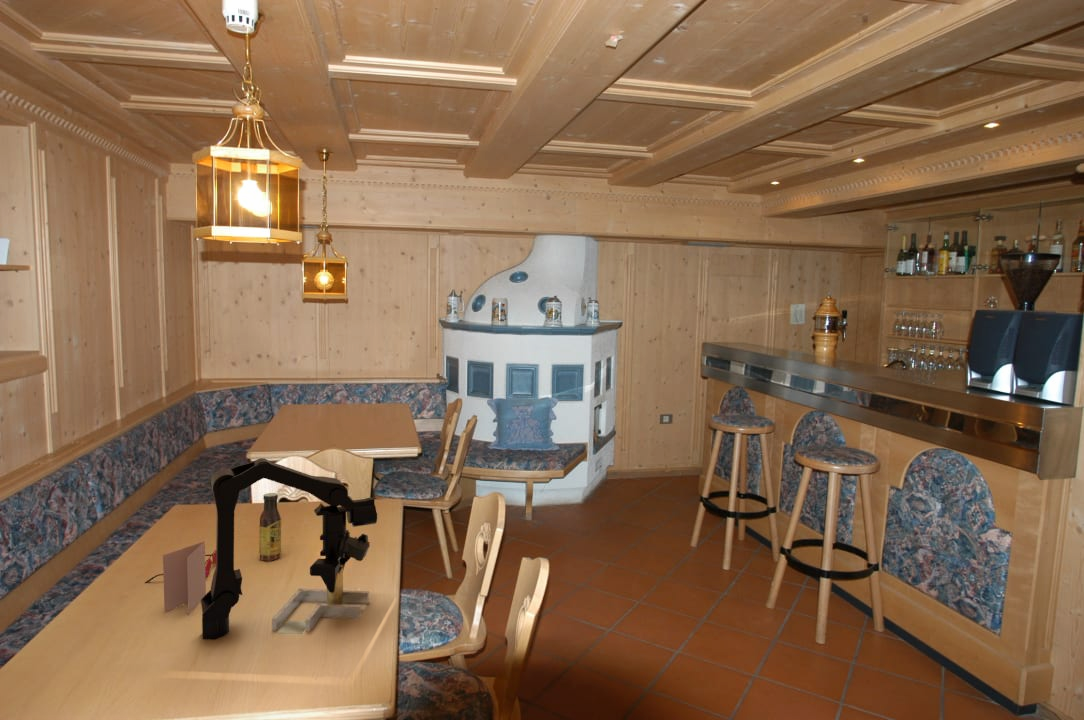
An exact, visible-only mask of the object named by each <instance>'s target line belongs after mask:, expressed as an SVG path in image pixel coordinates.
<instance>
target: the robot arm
mask: <svg viewBox="0 0 1084 720" xmlns="http://www.w3.org/2000/svg"><path fill="white" fill-rule="evenodd" d="M263 479H266V480H268V481H272V482H275V483H277V484H282V485H284V486H287V487H290V488H293V489H296V490H299V491H303V492H306V493H308V494H310V495H312V496H313V497H315V498H316V499H318V500H320V501H321V502H323V503H325V504H327V505H324V504H323V503H319V505H318V506H317V507H316V508H315V509H314V510H313V512H314V514H315V515H316V517H322V534H320V536H319V540H320V541H322V549H321V550H320V552H319V556H320V557H324V558H318V559H316V560H315V561H314V562H313V564H312V565H311V566H310V567H309V575H310V576H311V577H312V576H313V577H320V578H321V579H322V581H323V583H324V585H325V587H326V589H327V588H328V590H329V592H330V593H333V592H334V591H335V585H336V578H337V573H339V572H340V570H341V569H342V568H343V571H344V570H345V566H346V563H347V562H348V561H349V560H350V559H351V558H352V559H355V561H358V562H361V561H363V560H364V559H365V557H366V556H367V553H368V551H369V548H370V547H371V546H370V544H371V542H370V541H369V536H368V535H367V534H364V533H361V534H360V535H359V536H358V538H357V536H355V537H352V536H351V534H350V531H349V529H347V523H348V524H351V526H352V527H354V528H355V527H363V526H368V525H375V524H377V521H378V512H377V508H376V503H375V498H374V497H371V496H370V497H366V498H363V499H356V500H355V499H352V497H351V496H350V495H349V491H348V488H347V486H346V485H345V484H344V483H343V482H342V481H341V480H340V479H338V478H336V477H329V476H319V475H318V476H315V475H310V474H309V473H304V472H302V471H299V470H297V469H293V468H290V467H287V466H284V465H282V464H279V463H275V462H273V461H270V460H268V458H267V459H266V458H265V457H264V458H263V457H262V458H257V459H255V460H254V461H251V462H248V463H244V464H239V465H237V466H234V467H231V468H221V469H219V470H217V471H216V472H214V473H213V474H212V476H211V480H210V484H211V488H212V494H213V498H214V502H215V508H216V524H215V525H216V526H215V527H216V530H215V531H216V533H215V535H216V536H215V537H216V542H215V543H216V546H215V550H216V551H215V552H216V564H215V568H214V572H213V575H212V580H211V585H210V590H209V591H207V592H206V595H205V596H204V597H203V598H202V599H201V602H200V603H201V613H202V614H201V617H202V618H201V626H202V627H201V628H202V629H201V630H202V631H201V635H202V636H201V637H202V640H218V639H221V638H222V637H225V636H226V635H228V634H229V633H230V614H231V610H232V608H234V607H235V605H237V604H238V602H239V599H240V596H243V590H242V583H243V576H242V572H241V569H240V568H238V569H235V511H236V507H237V504H238V500H239V496H240V495H239V494H240V491H243V490H245V489H247V488H249V487H250V486H253V484H255V483H257V482H259V481H261V480H263ZM340 563H342V564H343V567H340Z"/></svg>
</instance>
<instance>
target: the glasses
mask: <svg viewBox="0 0 1084 720" xmlns="http://www.w3.org/2000/svg"><path fill="white" fill-rule="evenodd" d="M205 557H208V558H207V560H205V578H208V577H209V576H210V571H211V568H212V565H216V549H215V550H214V551H213V553H212V554H205ZM211 557H212V559H211ZM208 575H209V576H208ZM158 576H159V577H160V576H163V573H159V574H156V575H154V576H152V577H151V578H149V579H148V580H146V581H145V582H144V584H148V583H149V582H151V581H152V580H153V579H154V578H157V577H158ZM147 582H148V583H147Z"/></svg>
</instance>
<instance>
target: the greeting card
mask: <svg viewBox="0 0 1084 720" xmlns="http://www.w3.org/2000/svg"><path fill="white" fill-rule="evenodd" d="M205 542H206V541H201V542H198V543H195V544H192V545H189V546H187V547H186V546H185V547H184V548H181V549H177V550H174V551H172V552H168V553H165V554H163V555H162V566H163V567H162V571H163V573H162V574H163V575H162V576H163V603H164V604H163V607H164V608H163V610H164V613H166V611H167V612H169V611H171V609H172V610H174V609H176V607H177V608H178V606H179V607H181V606H183V604H184V605H186V604H187V612H188V613H187V615H188V616H190V615H191V613H192V612H193V611H194V610H195V609H196V608H197V606H198V605H199V604H200V603H201V602H200V601H201V599H202V598H203V597H204V596H205V595H206V594H207V589H206V587H207V585H206V582H207V581H206V578H207V577H206V576H205V567H206V564H205V563H206V556H205V555H206V547H205V546H206V543H205ZM199 602H200V603H199ZM180 605H181V606H180ZM173 608H174V609H173ZM194 608H195V609H194ZM193 609H194V610H193ZM168 610H169V611H168ZM192 610H193V611H192ZM191 611H192V612H191Z"/></svg>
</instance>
